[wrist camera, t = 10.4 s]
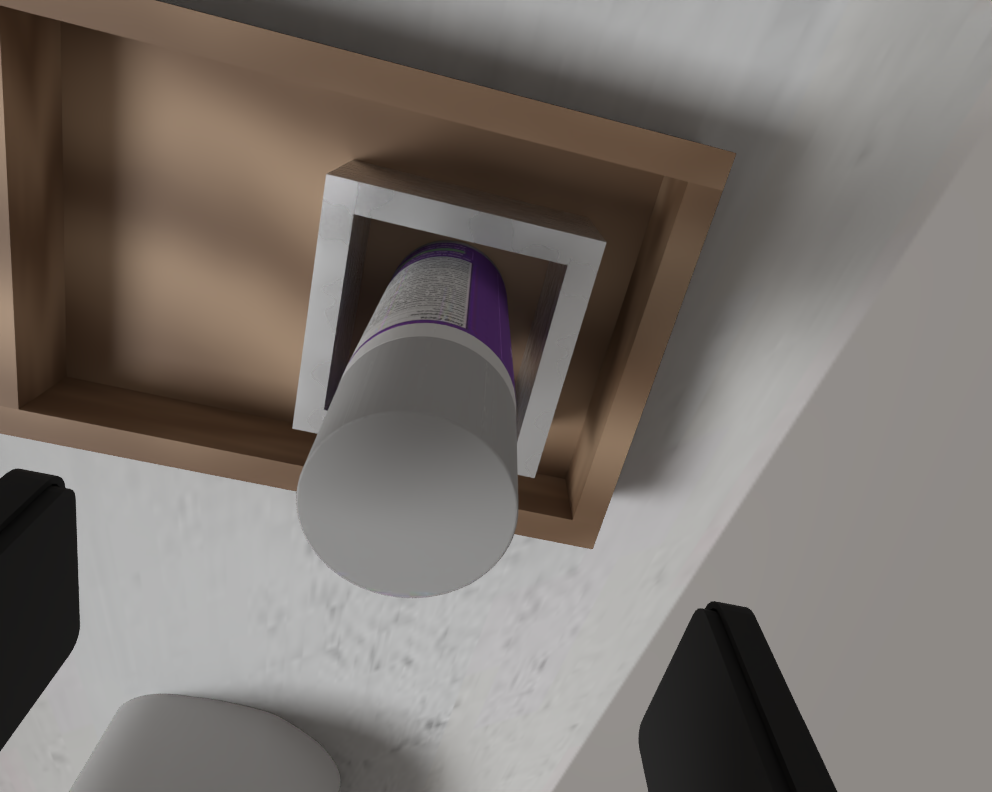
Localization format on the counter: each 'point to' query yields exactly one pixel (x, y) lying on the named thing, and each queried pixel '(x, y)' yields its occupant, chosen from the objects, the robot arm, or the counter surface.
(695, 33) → the counter surface
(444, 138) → the walled tray
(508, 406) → the container
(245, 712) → the lumpy-topped squat cylinder
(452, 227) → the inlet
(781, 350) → the counter surface
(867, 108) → the counter surface
